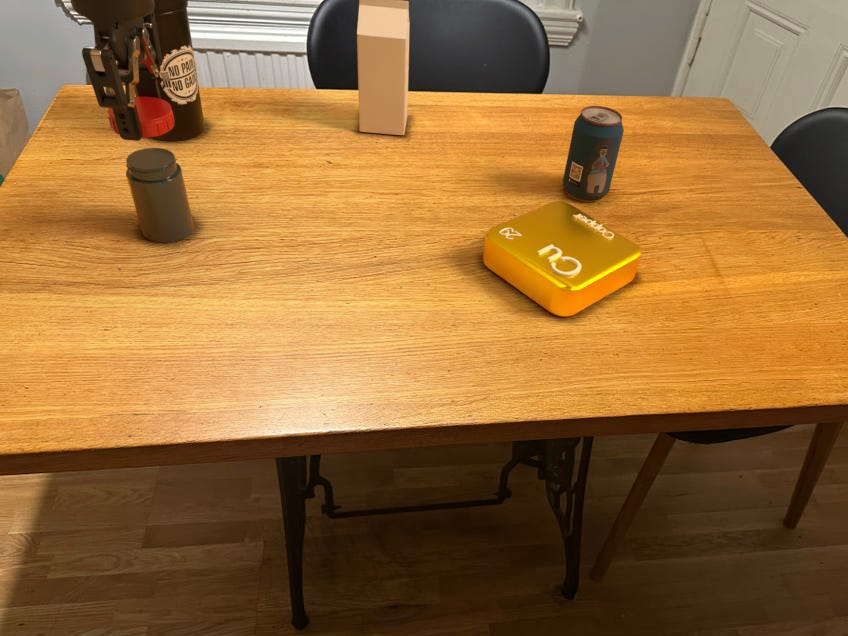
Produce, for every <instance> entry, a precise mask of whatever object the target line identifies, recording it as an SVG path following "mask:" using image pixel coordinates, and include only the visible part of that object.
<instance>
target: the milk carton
mask: <svg viewBox="0 0 848 636" xmlns="http://www.w3.org/2000/svg"><path fill="white" fill-rule="evenodd" d="M409 4H410V2H409V1H408V0H358V16H357V18H358V19H357V29H356V48H357V49H356V51H357V86H358V87H357V88H358V89H357V91H358V119H359V120H358V123H359V124H358V125H359V126H358V127H359V128H358V129H359V132H361V133H370V134H382V135H383V134H384V135H394V136H404V135H405V132H406V127H407V126H406V125H407V122H408V121H407V120H408V110H409V109H408V108H409V106H408V105H409V68H410V67H409V66H410V25H411V23H410V21H411V20H410V10H409V7H410V5H409Z"/></svg>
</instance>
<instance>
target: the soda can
mask: <svg viewBox="0 0 848 636" xmlns="http://www.w3.org/2000/svg"><path fill="white" fill-rule="evenodd" d="M624 130H625V129H624V126H623V116H622V114H621V113H620V112H619V111H618V110H616V109H613V108H610V107H607V106H602V105H588V106H585V107H583V108H582V109H581V110H580V114H579V115H578V116H577V118H576V119H575V121H574V122H573V127H572V134H571V138H570V143H569V148H568V152H567V158H566V164H565V168H564V174H563V178H562V184H563V187H564V189H565V192H566V194H567V195H568V196H569V197H570V198H572V199H573V200H575V201H578V202H582V203H595V202H599V201H601V200H602V199H603V198H604V197H605V196H606V195H607V194H608V193H609V191H610V189H611V186H612V185H611V184H612V181H613V176H614V172H615V169H616V164H617V160H618V155H619V152H620V149H621V144H622V140H623V136H624V132H625V131H624Z"/></svg>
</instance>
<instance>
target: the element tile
mask: <svg viewBox="0 0 848 636" xmlns="http://www.w3.org/2000/svg"><path fill="white" fill-rule="evenodd" d="M483 246H484V247H483V253H482V254H483V255H482V263H483V264H484V266H485V267H486V268H487V269H488V270H490V271H491V272H493V273H495V275H497V276H498V277H500V278H502V279H503V280H504V281H506V283H508V284H510V285H511V286H512V287H514V288H515V289H517V290H518V291H520V293H523V294H524V295H525V296H527V297H528V298H529V299H531V300H532V301H534V302H535V303H537V304H538V305H539V306H541V308H544V309H545V310H546V311H548V312H549V313H551V314H552V315H555V316H558V317H566V318H567V317H571V316H574V315H576V314H578V313H580V312H581V311H583V310H585V309H586V308H588V307H590V306H591V305H594V304H595V303H597V302H599V301H600V300H602V299H604V298H605V297H607V296H609V295H611V294H613V293H614V292H616V291H618V290H619V289H621V288H623V287H624V286H627V285H628V284H630V283H631V282H632V281H633V280H634V278H635V277H636V274H637V270H638V267H639V264H640V261H641V258H642V254H643V250H642V247H641V246H640V245H638V244H637V243H636V242H634V241H633V240H631V239H630V238H628V237H627V236H624V235H623V234H621V233H619V232H618V231H616V230H615V229H613V228H611V227H609V225H606V224H605V223H603V222H601V221H599V220H597V219H596V218H595V217H592V216H591V215H589V214H588V213H586V212H585V211H583V210H581V209H580V208H577V207H576V206H575V205H572V204H571V203H568V202H565V201H563V200H556V201H551V202H548V203H546V204H544V205H542V206H539V207H537V208H534V209H532V210H530V211H528V212H525V213H523V214H521V215H518V216H516V217H514V218H511V219H508V220H507V221H505V222H502V223H500V224H498V225H496V226H493V227H491V228H489V229H488V230H487V231H486V232H485V237H484V245H483Z"/></svg>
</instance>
